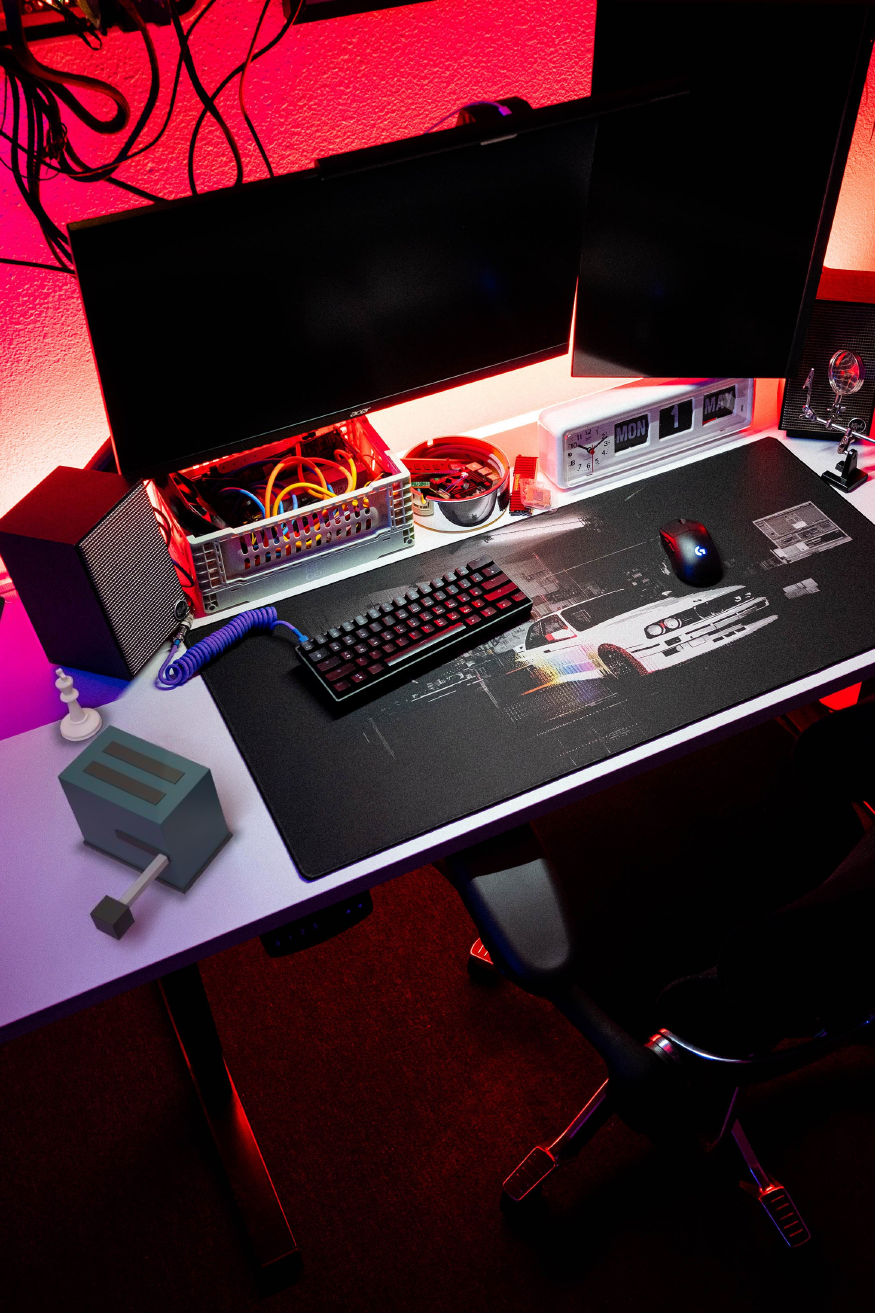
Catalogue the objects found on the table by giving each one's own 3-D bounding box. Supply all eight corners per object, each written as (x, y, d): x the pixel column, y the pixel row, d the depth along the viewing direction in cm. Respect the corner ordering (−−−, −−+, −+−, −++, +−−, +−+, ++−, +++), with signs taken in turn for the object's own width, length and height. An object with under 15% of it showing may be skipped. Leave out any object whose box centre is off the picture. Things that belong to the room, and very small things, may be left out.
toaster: (184, 894, 122) (160, 826, 114) (83, 845, 127) (53, 776, 119) (233, 836, 128) (212, 767, 120) (134, 790, 133) (109, 722, 125)
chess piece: (74, 747, 138) (51, 691, 132) (53, 727, 141) (29, 671, 134) (109, 724, 141) (89, 668, 134) (88, 705, 143) (67, 649, 137)
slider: (119, 941, 113) (112, 925, 111) (96, 929, 114) (89, 913, 112) (178, 871, 119) (172, 855, 117) (156, 860, 120) (150, 844, 118)
